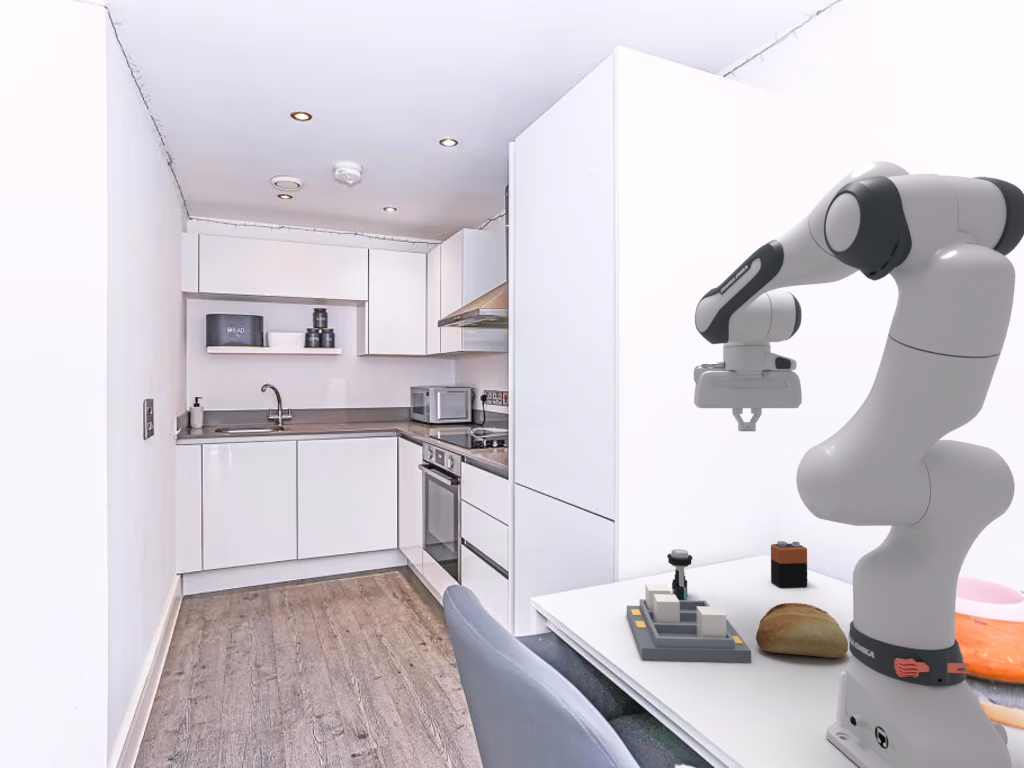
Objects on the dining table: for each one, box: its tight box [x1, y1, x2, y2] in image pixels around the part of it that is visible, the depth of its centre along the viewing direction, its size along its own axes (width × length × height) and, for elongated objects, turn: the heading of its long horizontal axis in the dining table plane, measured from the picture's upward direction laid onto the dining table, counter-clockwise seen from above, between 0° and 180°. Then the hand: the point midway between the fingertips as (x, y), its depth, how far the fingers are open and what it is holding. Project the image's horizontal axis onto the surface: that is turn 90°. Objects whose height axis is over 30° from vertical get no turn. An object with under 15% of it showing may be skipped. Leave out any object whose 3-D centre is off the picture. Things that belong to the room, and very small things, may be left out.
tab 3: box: [697, 605, 727, 638], centre depth 105 cm, size 4×4×5 cm
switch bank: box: [626, 598, 752, 664], centre depth 111 cm, size 20×18×4 cm
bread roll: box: [755, 602, 849, 659], centre depth 105 cm, size 10×15×8 cm, turn 85°
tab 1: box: [644, 583, 671, 611], centre depth 117 cm, size 4×4×5 cm
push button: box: [666, 548, 693, 600], centre depth 133 cm, size 7×5×10 cm
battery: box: [770, 540, 808, 589], centre depth 140 cm, size 4×7×10 cm, turn 96°
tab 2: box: [653, 593, 680, 623], centre depth 111 cm, size 4×4×5 cm
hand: (746, 431), depth 121 cm, fingers closed
